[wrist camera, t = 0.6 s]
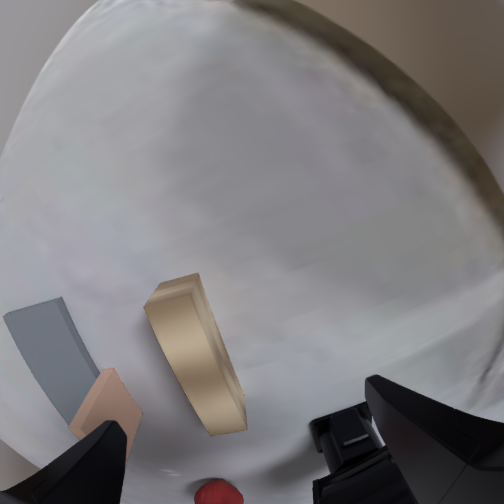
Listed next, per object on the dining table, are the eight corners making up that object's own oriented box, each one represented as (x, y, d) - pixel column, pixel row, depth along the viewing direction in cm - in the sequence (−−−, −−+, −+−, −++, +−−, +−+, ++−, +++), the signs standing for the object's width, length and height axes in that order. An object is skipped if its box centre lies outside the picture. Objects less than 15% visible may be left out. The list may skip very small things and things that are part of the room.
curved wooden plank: (244, 393, 23) (247, 429, 18) (212, 400, 23) (210, 435, 18) (198, 271, 20) (189, 295, 15) (160, 282, 20) (143, 307, 15)
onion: (191, 483, 26) (187, 530, 18) (204, 465, 25) (201, 519, 17) (232, 491, 27) (234, 536, 19) (249, 474, 26) (254, 525, 18)
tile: (142, 413, 22) (123, 474, 15) (129, 414, 22) (108, 473, 15) (113, 367, 21) (80, 428, 13) (100, 369, 21) (65, 427, 13)
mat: (133, 424, 23) (131, 430, 22) (74, 423, 23) (71, 428, 22) (61, 296, 19) (56, 301, 18) (8, 312, 19) (2, 316, 18)
